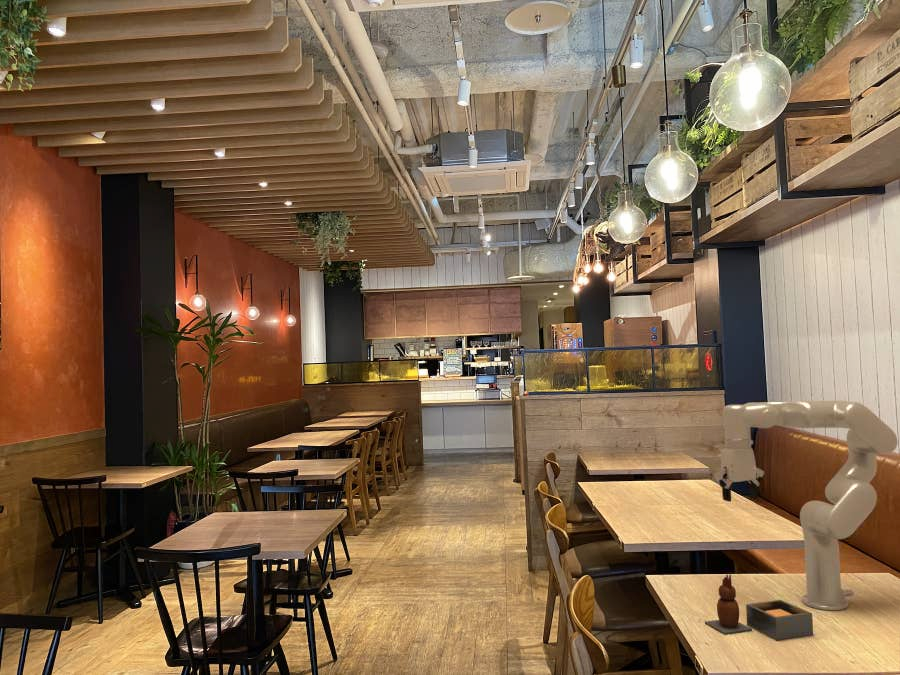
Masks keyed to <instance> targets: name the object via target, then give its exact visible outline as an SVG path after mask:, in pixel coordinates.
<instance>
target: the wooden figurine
mask: <svg viewBox="0 0 900 675" xmlns="http://www.w3.org/2000/svg"><path fill="white" fill-rule="evenodd" d="M728 574H729V575H728ZM721 582H722V584H721V585H720V586H719V587H718V595H719V599H717V604H716V612H717V617H718V620H719V621H720V623H721V624H722V625H723V626H726V627H735V626H736V625H737V624H738V622H740V621H739V620H740V607H739V604H738V601H737V600H736V597H737V592H736V589H735V586H733V584H732V575H731V573H727V574H726V576H724V578H723V579H722V581H721Z"/></svg>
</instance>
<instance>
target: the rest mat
mask: <svg viewBox="0 0 900 675" xmlns="http://www.w3.org/2000/svg"><path fill="white" fill-rule="evenodd" d="M704 625H706V626H707V627H709V628H711V627H712V628H711V629H713V628H714V629H713V630H715V631H717V632H718V631H719V633H720V632H721V633H720V634H722V633H723V634H722V635H723V636H728V634H729V635H735V634H740V633H741V634H742V633H746V632H747V633H748V632H749V633H750V632H753V628H751V627H749V626H747V624H746V625H745V624H744V623H742V622H740V621H738V624H737V625H736V626H735V627H726V626H723V625H722V624H721V623H720V621H719V619H715V620H709V621H707V620H706V621H704Z"/></svg>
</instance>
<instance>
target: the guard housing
mask: <svg viewBox="0 0 900 675" xmlns="http://www.w3.org/2000/svg"><path fill="white" fill-rule="evenodd" d="M745 606H746V607H745V610H746V611H745V613H746V626H747V627H749V628H751V629H752V630H755V631H757V632H759V633H761V634H762V635H764V636H767V637H769V638H770V639H772V640H775V641H776V642H779V641H785V640H792V639H796V638H797V639H798V638H803V637H810V636H814V626H813V625H814V623H813V613H812V612H810V611H807V610H806V609H803V608H801V607H799V606H796V605H794V604H792V603H790V602H788V601H785V600H782V599H776V600H770V601H769V600H768V601H760V602H754V603H746V604H745ZM776 609H781V610H784V611H786V612H788V613H790V614H792V615H785V616H778V617H776V616H774V615H771V614H769V613H767V612H765V611H769V610H776Z"/></svg>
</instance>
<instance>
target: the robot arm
mask: <svg viewBox="0 0 900 675" xmlns="http://www.w3.org/2000/svg"><path fill="white" fill-rule="evenodd" d="M723 424H724V425H723V426H724V427H723V428H724V429H723V430H724V431H723V432H724V448H723V449H722V452H721V458H720V470H719V471H717V472H715V473H714V474H713V475H714V478H715V480H716V483H717V484H718V485H719V487H720V488H721V490H722V496H721V497H722V500H723V501H725V502H728V503H729V502H732V489H731V488H730V486H731V485H732V484H733V483H739V482H748V483H749V484H748V496H749V498H750V499H752V500H753V499H754V500H758V499H759V491H758V490H759V488H758V487H759V486H760V483H761V482H762V481H763V476H764V474H765V472H764V470H762V469H761V468H759V467H757V464H756V463H757V462H756V457H755V452H754V450H753V448H752V445H753V444H754V440H753V439H752V438H751V437H752V436H751V428H758V429H770V428H772V427H774V426H780V427H788V428H796V429H835V428H837V429H839V428H840V429H848V431H847V433H846V442H847V447H848V457H847V460H846V461H845V463H844V464H843V466H841V468H840V469H839V470H838V471H837V473H835V475H834V476H833V477H832V478H831V480H829V482H828V483H827V484H826V486H825V489H824V494H825V497H826V499H827V500H828V501H829V502H831V503H832V504H831V503H829V502H825V501H821V500H810V501H808V502H806V503H804V504H803V505H802V507H801V508H800V512H799V520H800V526H801V529H802V534H803V540H804V541H803V542H804V560H805V562H804V564H805V579H806V580H805V581H806V582H805V583H806V594H804V595H802V596H801V602H802V603H803V604H804V605H806V606H808V607H811V608H814V609H818V610H824V611H841V610H845V608H846V609H847V608H848V606H849V605H848V602H847V600H846V599H845V598H846V597H852V596H854V594H855V592H854V591H853V589H851V588H849V589H843V588H842V583H841V580H842V579H841V565H840V546H839V542H838V540H845V539H846V538H848V537H850V536H851V535H852V534H853V533H855V531H857V529H858V528H859V527H860V526H861V525H862V523H863V522H864V521H865V519H867V518H868V516H869V515H870V514H871V513H872V511H873V510H874V509H875V507H876V504H877V500H878V495H877V491H876V489H875V488H874V486H873V485H872V484H871V483H870V482H872V480H873V479H874V477H875V476H876V474H877V472H878V460H877V455H881V456H883V455H889V454H891V453H893V452H894V451H895V450H896V449H897V446H898V437H897V435H896V433H895V431H894V430H893V429H892V428H891V427H890V426H889V425H888V424H886V423H885V421H883V420H882V419H881V418H880V417H879V416H878V415H876V414H875V413H874V412H873V411H872V410H870V408H868V407H867V406H865V405H864V404H862V403H860V402H857V401H846V400H815V401H814V400H807V401H806V400H801V401H799V400H798V401H797V400H796V401H783V402H782V401H779V402H778V401H776V402H775V401H773V402H771V401H770V402H769V401H768V402H766V401H763V402H747V403H745V404H728V405H725V406H724V407H723Z"/></svg>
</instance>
